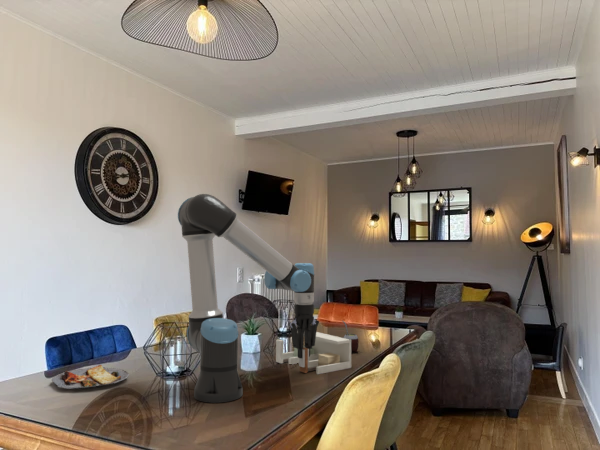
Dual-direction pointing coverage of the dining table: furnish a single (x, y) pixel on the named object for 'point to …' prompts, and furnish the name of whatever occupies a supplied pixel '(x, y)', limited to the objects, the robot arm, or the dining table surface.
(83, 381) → the food plate
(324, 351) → the lane rack
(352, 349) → the mate gourd
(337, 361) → the birch block
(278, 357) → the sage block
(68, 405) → the dining table surface
